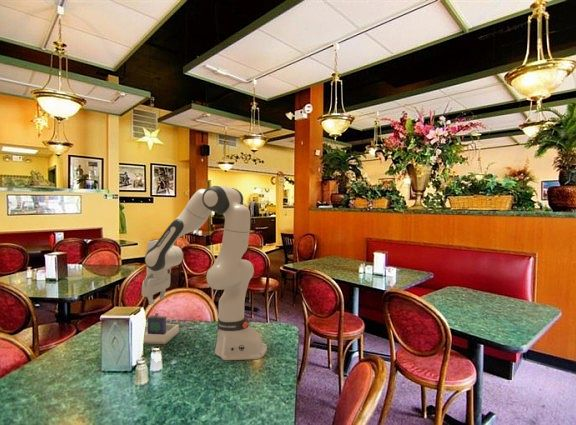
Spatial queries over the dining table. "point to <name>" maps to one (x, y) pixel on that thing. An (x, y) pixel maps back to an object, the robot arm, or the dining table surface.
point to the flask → (157, 324)
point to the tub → (161, 339)
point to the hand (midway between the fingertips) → (156, 301)
